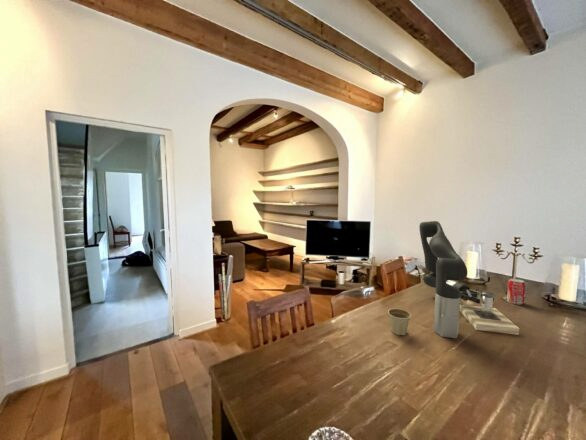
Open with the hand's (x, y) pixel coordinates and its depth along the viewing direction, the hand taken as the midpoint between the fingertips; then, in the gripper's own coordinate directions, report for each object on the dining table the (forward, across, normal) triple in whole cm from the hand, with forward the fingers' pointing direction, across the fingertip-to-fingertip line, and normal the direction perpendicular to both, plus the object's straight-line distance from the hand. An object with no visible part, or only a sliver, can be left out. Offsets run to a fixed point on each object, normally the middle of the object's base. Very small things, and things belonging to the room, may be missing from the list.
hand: (486, 300), depth 119 cm
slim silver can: (0, 0, +10) cm, 10 cm away
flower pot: (-2, -47, +10) cm, 48 cm away
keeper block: (+1, 0, +10) cm, 10 cm away
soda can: (-12, +37, +10) cm, 40 cm away
